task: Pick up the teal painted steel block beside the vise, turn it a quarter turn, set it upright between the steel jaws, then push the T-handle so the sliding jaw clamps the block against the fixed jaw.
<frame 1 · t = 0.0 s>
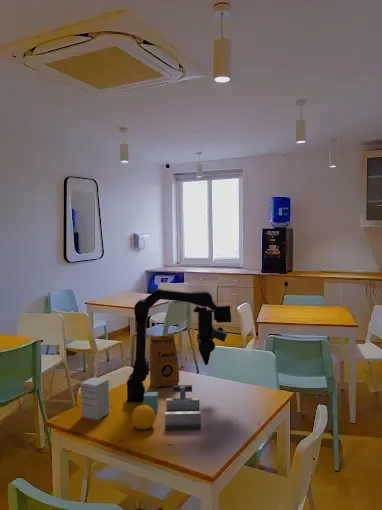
hand: (205, 361, 172), 15 cm above the table, fingers open, 9 cm apart
vise: (183, 418, 152), on the table
orange fruit: (143, 427, 145), on the table
supplement box: (95, 415, 156), on the table
coffee package: (164, 385, 189), on the table
teal block: (151, 409, 161), on the table
vise jaw: (182, 396, 159), point 5 cm above the table, slide at 0.0 cm
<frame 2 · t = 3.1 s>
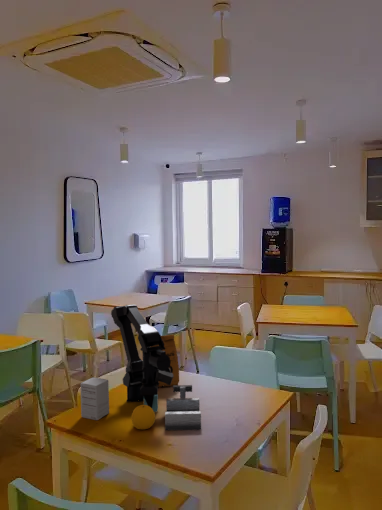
hand: (150, 405, 161), 2 cm above the table, fingers closed on teal block, 4 cm apart
teal block: (151, 409, 161), on the table, touching gripper
everything else where it was.
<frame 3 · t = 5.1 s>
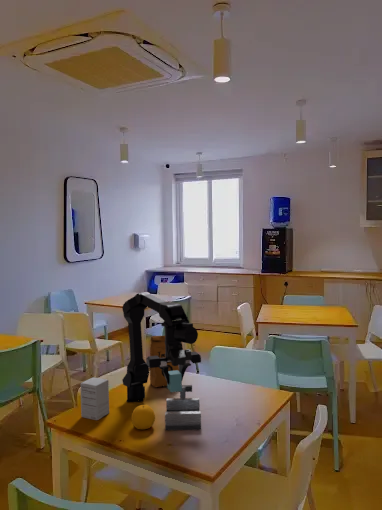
hand: (174, 383, 152), 13 cm above the table, fingers closed on teal block, 4 cm apart
teal block: (174, 389, 152), point 11 cm above the table, touching gripper
everything else where it was.
when the fingers open (4 cm above the table, at t = 7.1 s): teal block stays where it is, resting on vise.
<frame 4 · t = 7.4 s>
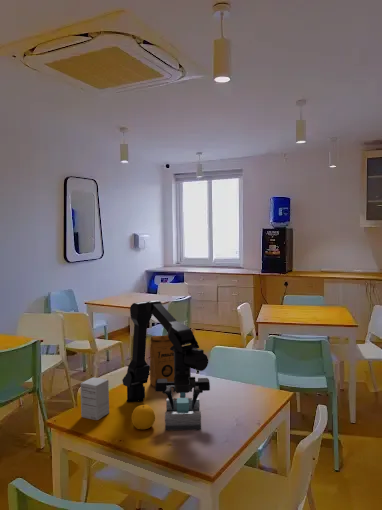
hand: (182, 409, 149), 4 cm above the table, fingers open, 7 cm apart
teal block: (182, 417, 149), point 1 cm above the table, touching vise
everything else where it was.
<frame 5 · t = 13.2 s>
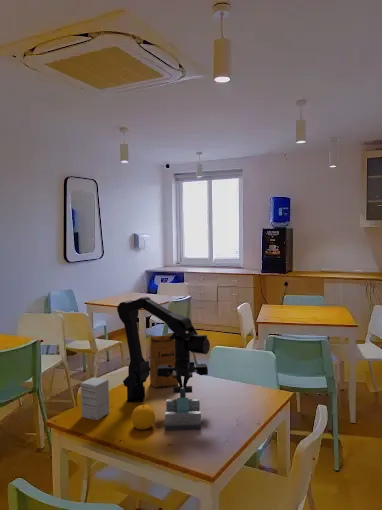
hand: (182, 392, 161), 6 cm above the table, fingers closed
vise jaw: (182, 397, 158), point 5 cm above the table, slide at 1.1 cm, touching gripper
everything else where it was.
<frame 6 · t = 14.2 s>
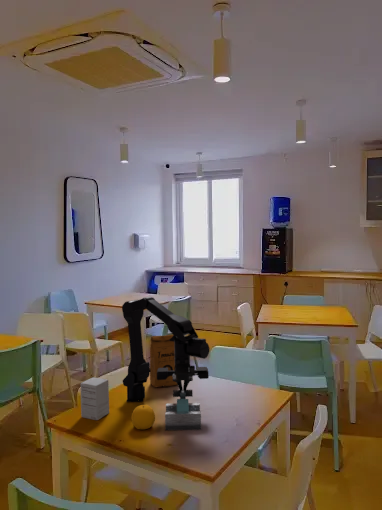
hand: (183, 396, 157), 6 cm above the table, fingers closed, pressing on vise jaw
teal block: (182, 418, 148), point 2 cm above the table, touching vise, vise jaw
vise jaw: (182, 401, 154), point 5 cm above the table, slide at 5.0 cm, touching gripper, teal block
everything else where it was.
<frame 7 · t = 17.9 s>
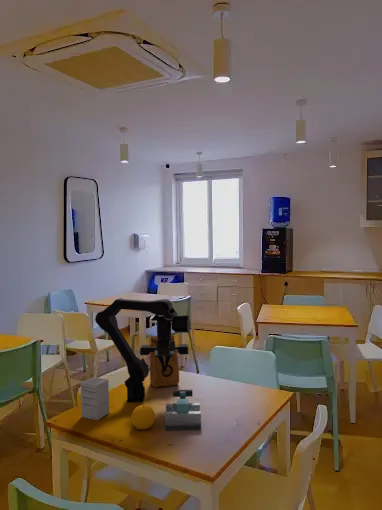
hand: (164, 371, 168), 12 cm above the table, fingers closed
teal block: (182, 418, 148), point 1 cm above the table, touching vise
vise jaw: (182, 401, 154), point 5 cm above the table, slide at 5.0 cm
everything else where it was.
at the end: vise jaw slide at 5.0 cm; teal block 0.8 cm from the target spot on the vise, point 1.5 cm above the vise's base; teal block tilted 0° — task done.
